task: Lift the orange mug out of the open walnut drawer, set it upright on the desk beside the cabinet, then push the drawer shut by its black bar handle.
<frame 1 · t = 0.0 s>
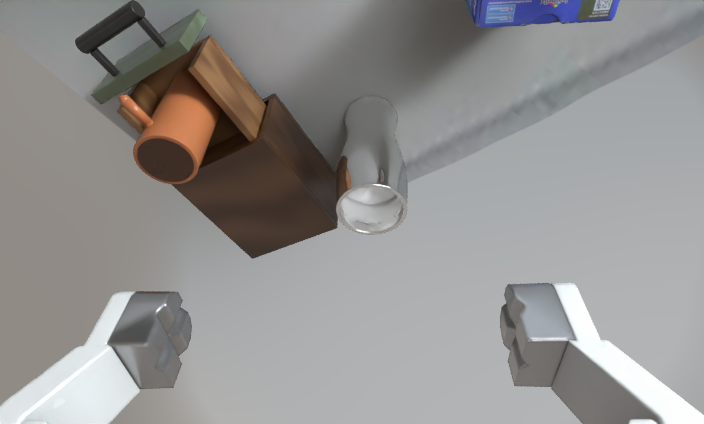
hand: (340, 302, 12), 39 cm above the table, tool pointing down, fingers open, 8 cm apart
beer glass: (371, 117, 54), on the table
cabinet: (268, 159, 58), on the table
drawer: (180, 90, 47), point 4 cm above the table, slide at 10.0 cm, touching orange mug
orange mug: (199, 92, 50), point 2 cm above the table, touching drawer
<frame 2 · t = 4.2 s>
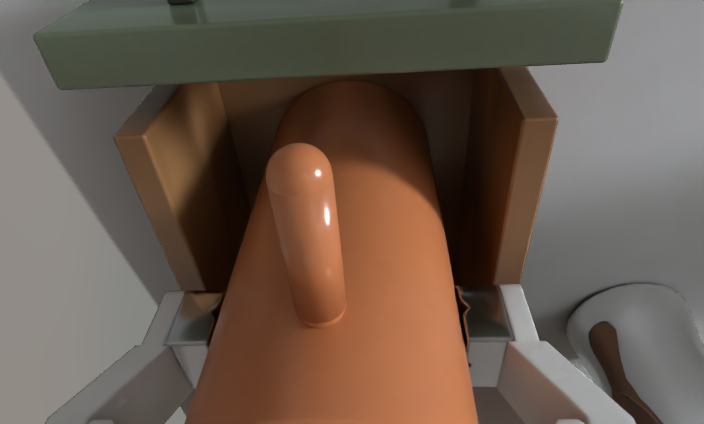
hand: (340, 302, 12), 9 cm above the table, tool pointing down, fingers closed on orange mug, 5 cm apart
beer glass: (622, 316, 26), on the table
cabinet: (366, 315, 26), on the table
drawer: (343, 140, 14), point 4 cm above the table, slide at 10.0 cm, touching orange mug
orange mug: (351, 152, 17), point 2 cm above the table, touching drawer, gripper
when the fingers open (7 cm above the table, at t = 10.9 s): orange mug stays where it is, on the table.
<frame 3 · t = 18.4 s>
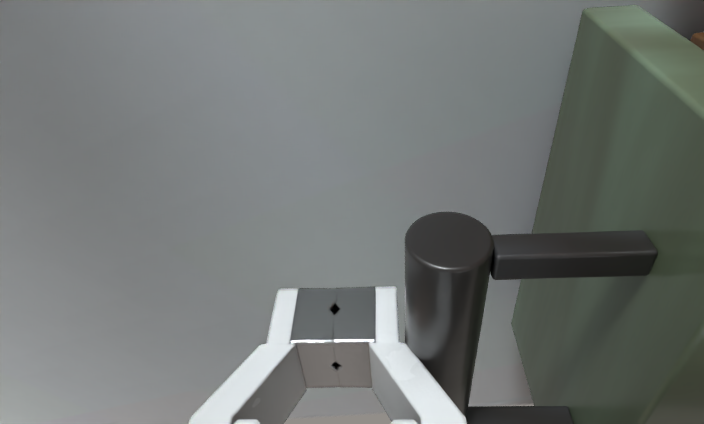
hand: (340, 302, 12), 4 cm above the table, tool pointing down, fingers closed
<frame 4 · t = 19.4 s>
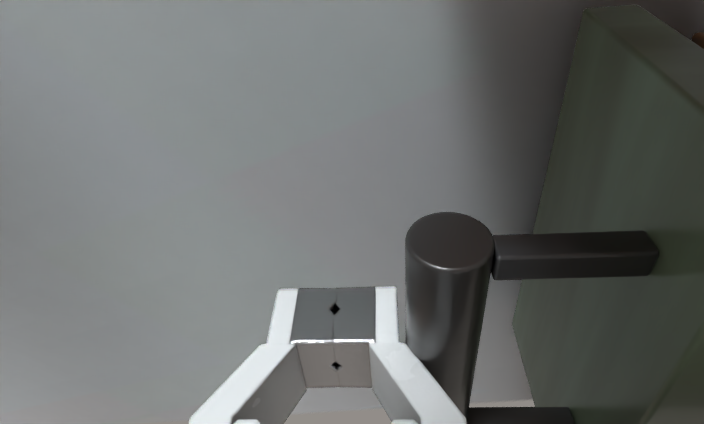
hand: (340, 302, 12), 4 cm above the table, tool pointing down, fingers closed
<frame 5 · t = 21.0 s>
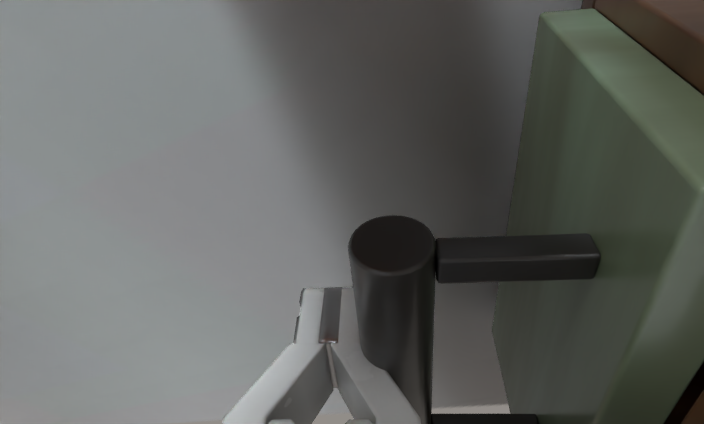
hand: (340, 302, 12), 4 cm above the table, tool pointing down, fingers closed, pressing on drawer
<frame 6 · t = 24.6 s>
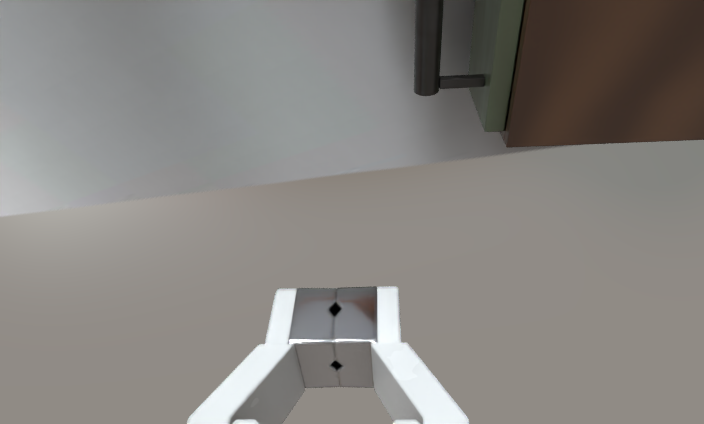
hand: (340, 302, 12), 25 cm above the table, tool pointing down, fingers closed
drawer: (565, 14, 27), point 4 cm above the table, slide at 0.0 cm
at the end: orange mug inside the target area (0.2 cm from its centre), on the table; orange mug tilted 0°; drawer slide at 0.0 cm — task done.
